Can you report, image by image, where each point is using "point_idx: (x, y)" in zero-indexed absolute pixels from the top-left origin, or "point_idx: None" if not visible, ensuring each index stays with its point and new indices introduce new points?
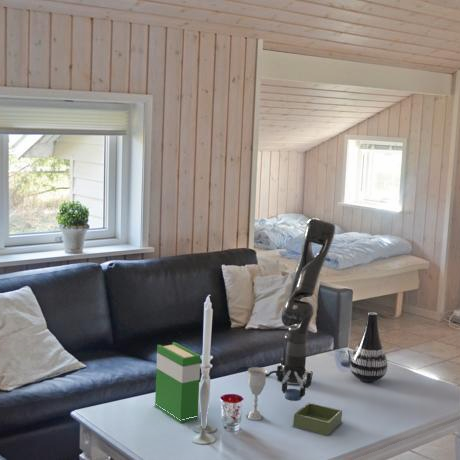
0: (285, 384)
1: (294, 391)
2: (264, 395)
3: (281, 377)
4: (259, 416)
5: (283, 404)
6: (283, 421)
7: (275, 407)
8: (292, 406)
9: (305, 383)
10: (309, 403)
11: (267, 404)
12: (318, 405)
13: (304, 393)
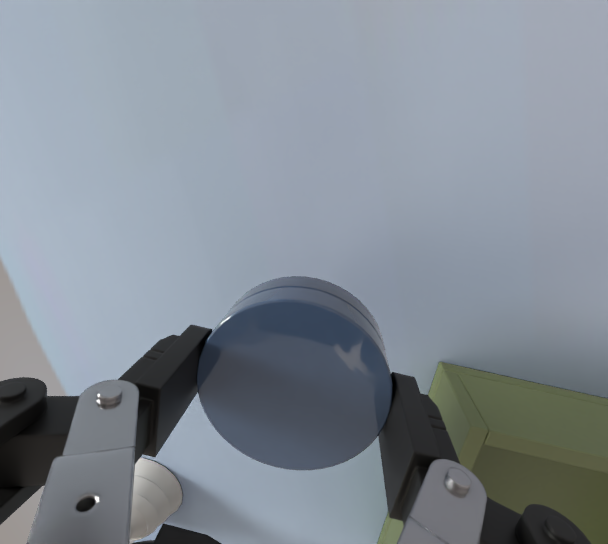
0: (158, 442)
1: (301, 381)
2: (35, 118)
3: (7, 454)
4: (168, 515)
5: (228, 242)
6: (307, 496)
7: (196, 318)
8: (300, 254)
9: (480, 520)
10: (482, 443)
11: (129, 287)
12: (578, 466)
13: (433, 422)
